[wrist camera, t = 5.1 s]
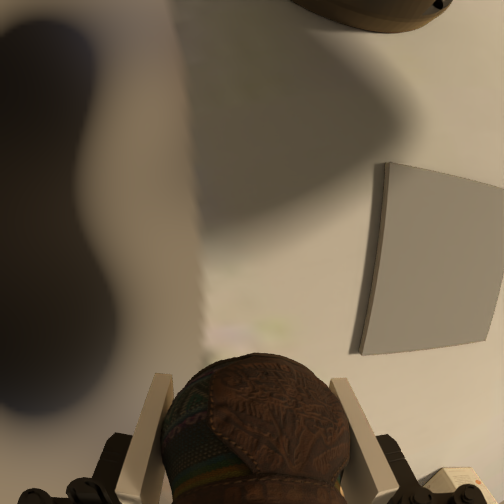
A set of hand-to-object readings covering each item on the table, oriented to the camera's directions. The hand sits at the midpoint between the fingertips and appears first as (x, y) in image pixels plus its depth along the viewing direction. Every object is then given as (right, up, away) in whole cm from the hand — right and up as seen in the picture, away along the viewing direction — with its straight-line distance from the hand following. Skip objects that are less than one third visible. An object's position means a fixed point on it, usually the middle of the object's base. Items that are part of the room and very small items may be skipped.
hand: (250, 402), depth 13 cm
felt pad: (+13, +6, +5) cm, 16 cm away
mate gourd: (0, 0, 0) cm, 1 cm away
